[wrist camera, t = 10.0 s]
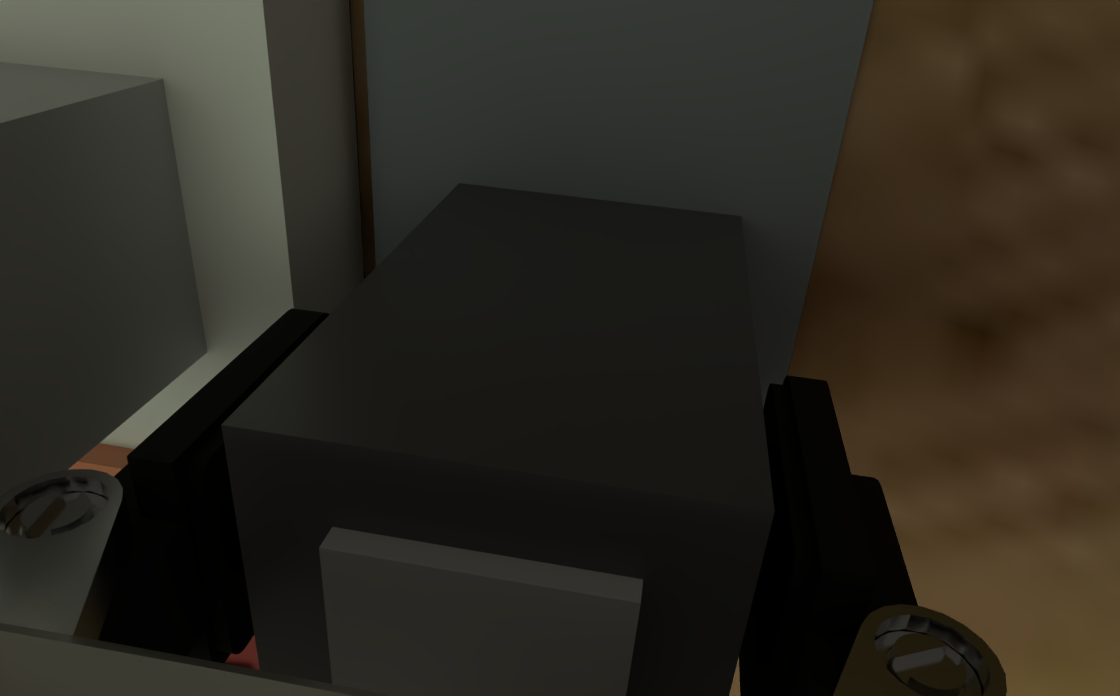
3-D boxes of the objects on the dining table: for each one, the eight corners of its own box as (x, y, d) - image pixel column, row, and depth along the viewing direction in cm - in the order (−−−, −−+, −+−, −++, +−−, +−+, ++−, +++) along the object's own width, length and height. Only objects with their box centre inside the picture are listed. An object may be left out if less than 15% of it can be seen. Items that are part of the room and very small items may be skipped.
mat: (866, -4, 12) (874, -1, 12) (736, 572, 18) (737, 591, 18) (375, -44, 13) (361, -43, 13) (397, 516, 19) (388, 533, 19)
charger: (740, 216, 14) (777, 534, 7) (697, 453, 16) (689, 882, 9) (458, 183, 14) (203, 442, 7) (456, 417, 17) (263, 792, 9)
